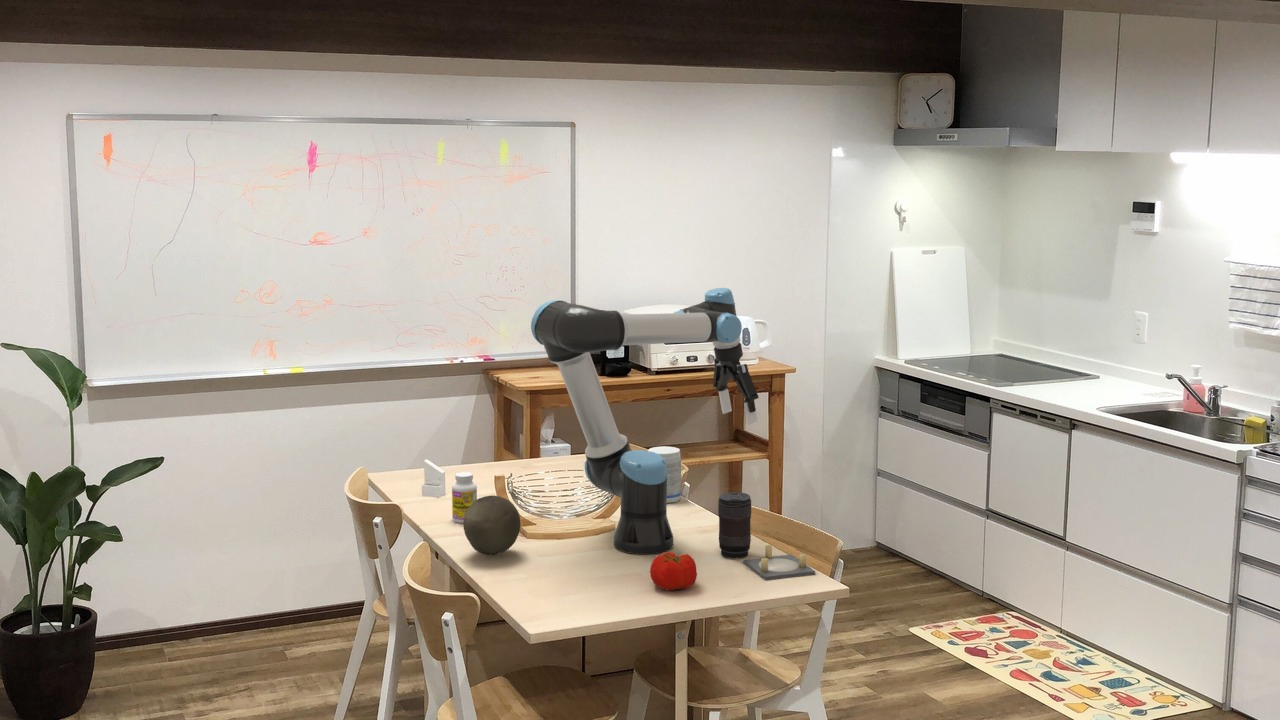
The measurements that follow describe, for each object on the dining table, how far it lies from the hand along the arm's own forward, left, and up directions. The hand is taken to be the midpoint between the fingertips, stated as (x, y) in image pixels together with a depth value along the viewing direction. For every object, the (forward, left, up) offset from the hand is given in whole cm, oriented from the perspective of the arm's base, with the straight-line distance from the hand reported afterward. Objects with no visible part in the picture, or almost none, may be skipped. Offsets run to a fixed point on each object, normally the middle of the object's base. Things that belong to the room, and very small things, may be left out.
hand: (739, 417), depth 340 cm
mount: (-11, -50, -26) cm, 57 cm away
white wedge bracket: (-79, +41, -26) cm, 93 cm away
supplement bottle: (-75, +13, -26) cm, 80 cm away
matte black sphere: (-74, -19, -26) cm, 80 cm away
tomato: (-39, -54, -26) cm, 71 cm away
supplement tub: (-17, +15, -26) cm, 35 cm away
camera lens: (-17, -37, -26) cm, 48 cm away
